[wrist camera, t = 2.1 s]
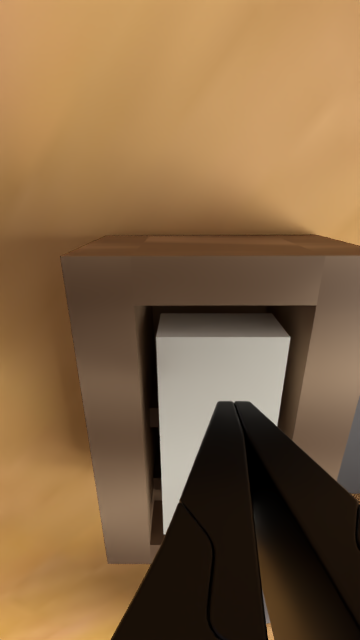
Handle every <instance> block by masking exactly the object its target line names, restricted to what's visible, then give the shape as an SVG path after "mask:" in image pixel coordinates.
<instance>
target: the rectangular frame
mask: <svg viewBox="0 0 360 640" xmlns="http://www.w3.org/2000/svg"><path fill="white" fill-rule="evenodd" d="M60 258H61V265H62V271H63V278H64V284H65V291H66V297H67V304H68V310H69V316H70V323H71V329H72V336H73V342H74V349H75V355H76V361H77V368H78V374H79V381H80V387H81V394H82V400H83V407H84V413H85V419H86V426H87V432H88V439H89V445H90V452H91V458H92V464H93V471H94V477H95V484H96V490H97V497H98V503H99V510H100V516H101V522H102V529H103V535H104V542H105V548H106V555H107V561H108V564H151V563H152V561H153V559H154V557H155V555H156V553H157V551H158V549H159V547H160V545H161V543H162V541H163V538H164V536H165V534H164V531H163V505H162V479H161V453H160V427H159V401H158V374H157V348H156V335H157V330H158V325H159V320H160V315H161V313H272V314H273V315H274V317H275V318H276V319H277V321H278V322H279V323H280V324H281V326H282V327H283V328H284V330H285V331H286V332H287V333H288V335H289V336H290V337H291V338H290V344H289V351H288V358H287V364H286V371H285V378H284V384H283V391H282V397H281V404H280V411H279V417H278V424H277V427H278V428H279V429H281V430H282V431H283V432H284V433H285V434H286V435H287V436H288V437H289V438H290V439H291V440H293V441H294V442H295V443H296V444H297V445H298V446H299V447H300V448H301V449H302V450H303V451H304V452H306V453H307V454H308V455H309V456H310V457H311V458H312V459H313V460H314V461H315V462H316V463H318V464H319V465H320V466H321V467H322V468H323V469H324V470H325V471H326V472H327V473H328V474H329V475H331V476H332V477H333V478H334V479H335V480H336V481H337V478H338V474H339V470H340V466H341V463H342V459H343V455H344V452H345V448H346V444H347V440H348V437H349V433H350V429H351V426H352V422H353V418H354V415H355V411H356V407H357V403H358V400H359V396H360V246H358V245H354V244H350V243H347V242H343V241H339V240H335V239H331V238H327V237H323V236H319V235H202V236H104V237H102V238H100V239H97V240H95V241H93V242H91V243H89V244H86V245H84V246H82V247H80V248H78V249H75V250H73V251H71V252H69V253H67V254H64V255H62V256H60Z"/></svg>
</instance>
